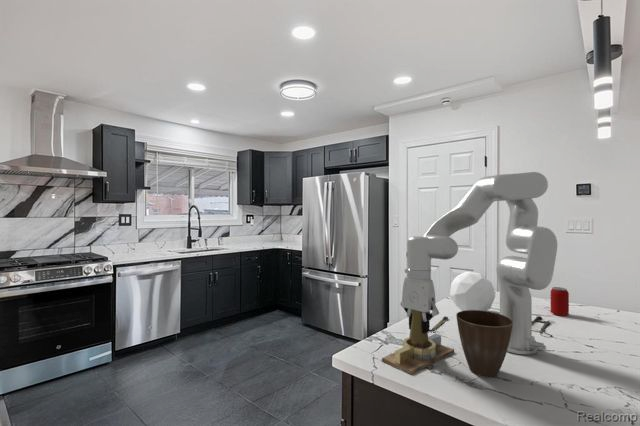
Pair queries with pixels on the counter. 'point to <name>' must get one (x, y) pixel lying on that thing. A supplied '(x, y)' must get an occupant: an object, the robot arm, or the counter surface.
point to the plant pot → (484, 340)
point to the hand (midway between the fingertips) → (418, 329)
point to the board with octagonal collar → (417, 365)
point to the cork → (417, 327)
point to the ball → (472, 292)
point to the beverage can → (559, 301)
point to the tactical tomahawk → (438, 324)
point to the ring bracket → (418, 349)
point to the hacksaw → (543, 325)
